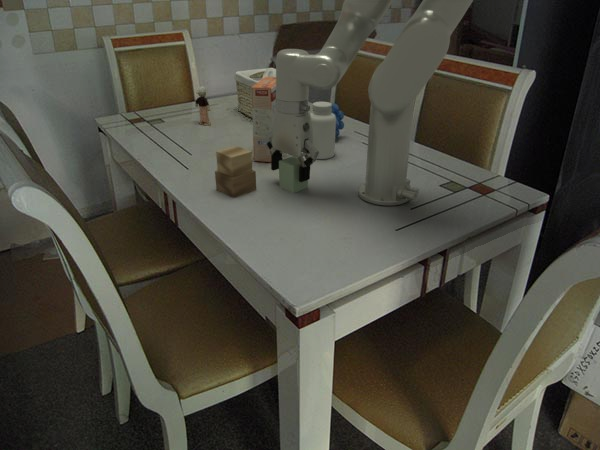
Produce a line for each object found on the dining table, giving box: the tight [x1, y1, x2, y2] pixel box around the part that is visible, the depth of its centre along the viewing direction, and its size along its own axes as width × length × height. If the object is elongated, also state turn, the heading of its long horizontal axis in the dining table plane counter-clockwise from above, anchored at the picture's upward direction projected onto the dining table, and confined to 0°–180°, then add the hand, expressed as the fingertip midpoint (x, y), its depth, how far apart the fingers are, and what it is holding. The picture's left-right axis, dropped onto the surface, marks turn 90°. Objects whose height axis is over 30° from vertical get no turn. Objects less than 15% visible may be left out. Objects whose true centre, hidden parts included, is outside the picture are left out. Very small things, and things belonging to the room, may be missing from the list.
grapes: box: [331, 103, 345, 138], centre depth 156 cm, size 12×7×12 cm, turn 124°
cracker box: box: [252, 77, 276, 163], centre depth 143 cm, size 14×6×21 cm, turn 168°
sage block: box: [278, 156, 309, 194], centre depth 125 cm, size 5×5×7 cm
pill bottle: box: [309, 101, 336, 160], centre depth 144 cm, size 8×8×15 cm
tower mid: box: [215, 145, 253, 178], centre depth 122 cm, size 6×6×5 cm
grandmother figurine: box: [194, 86, 212, 126], centre depth 172 cm, size 8×4×13 cm, turn 58°
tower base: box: [214, 169, 257, 199], centre depth 124 cm, size 7×7×5 cm
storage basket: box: [234, 67, 276, 119], centre depth 181 cm, size 24×16×15 cm
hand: (290, 174), depth 125 cm, fingers open, 9 cm apart
